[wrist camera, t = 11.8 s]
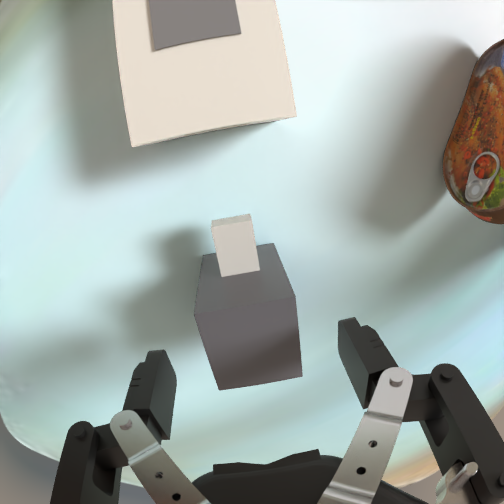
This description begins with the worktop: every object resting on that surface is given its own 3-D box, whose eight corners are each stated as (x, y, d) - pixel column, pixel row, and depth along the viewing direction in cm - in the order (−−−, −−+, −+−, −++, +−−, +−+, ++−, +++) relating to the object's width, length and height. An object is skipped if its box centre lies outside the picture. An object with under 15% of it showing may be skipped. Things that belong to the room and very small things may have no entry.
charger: (193, 213, 18) (177, 256, 12) (267, 200, 18) (288, 237, 12) (219, 321, 21) (219, 390, 15) (282, 310, 21) (302, 376, 15)
